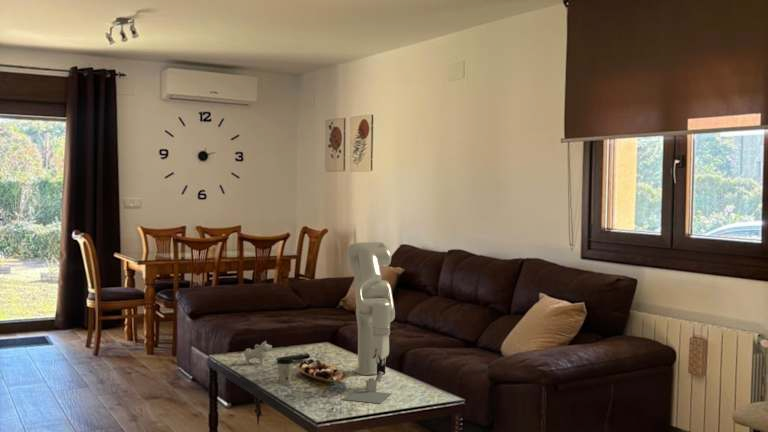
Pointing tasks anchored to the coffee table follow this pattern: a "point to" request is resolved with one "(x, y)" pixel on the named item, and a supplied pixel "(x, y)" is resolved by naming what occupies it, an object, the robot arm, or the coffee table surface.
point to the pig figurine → (257, 352)
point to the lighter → (373, 382)
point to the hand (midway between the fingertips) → (381, 374)
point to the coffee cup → (285, 369)
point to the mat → (367, 396)
